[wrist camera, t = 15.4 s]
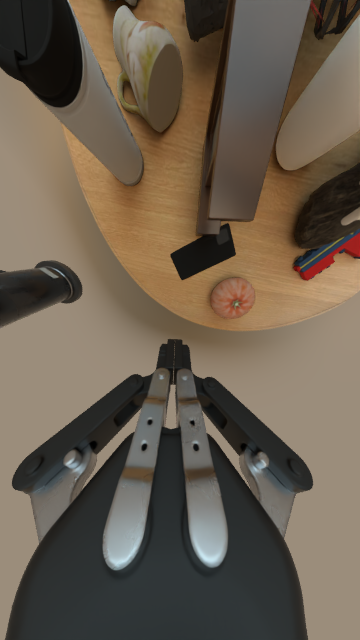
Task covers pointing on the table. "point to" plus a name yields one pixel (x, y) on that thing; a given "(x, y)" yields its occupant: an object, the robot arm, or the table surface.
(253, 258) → the table surface
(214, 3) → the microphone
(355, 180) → the rock
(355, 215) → the white plastic housing
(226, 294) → the tomato
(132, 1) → the stone
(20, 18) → the travel mug
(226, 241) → the smartphone
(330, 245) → the toy gun
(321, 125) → the cup
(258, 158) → the window frame
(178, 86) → the mug
